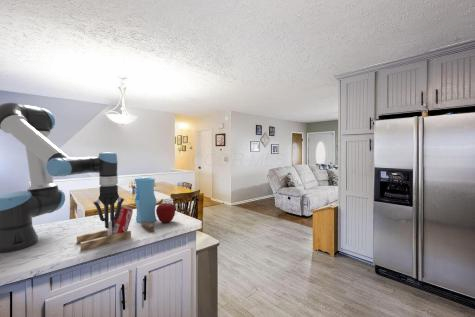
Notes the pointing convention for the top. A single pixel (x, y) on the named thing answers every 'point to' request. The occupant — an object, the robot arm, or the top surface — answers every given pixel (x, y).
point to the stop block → (148, 226)
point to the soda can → (122, 220)
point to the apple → (165, 212)
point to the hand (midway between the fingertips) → (109, 234)
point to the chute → (100, 238)
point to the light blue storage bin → (145, 200)
